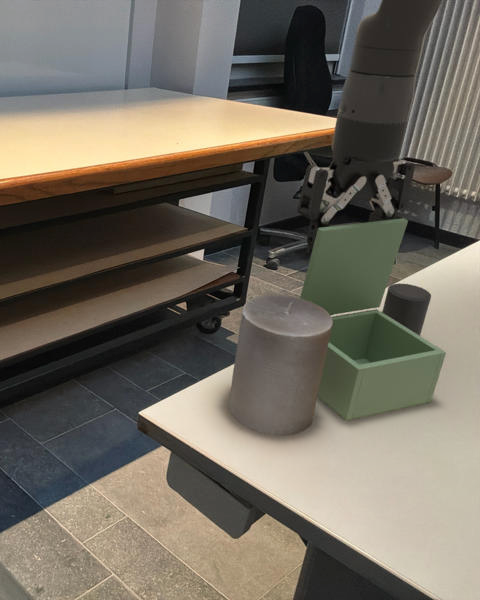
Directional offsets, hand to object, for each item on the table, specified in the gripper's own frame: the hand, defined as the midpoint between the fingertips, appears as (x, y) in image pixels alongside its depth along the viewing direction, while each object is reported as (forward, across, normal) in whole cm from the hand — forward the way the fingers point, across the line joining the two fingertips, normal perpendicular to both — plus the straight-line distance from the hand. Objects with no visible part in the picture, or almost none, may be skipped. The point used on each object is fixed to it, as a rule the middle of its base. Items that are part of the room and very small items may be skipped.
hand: (344, 246), depth 84 cm
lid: (+2, 0, -2) cm, 3 cm away
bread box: (+17, 0, -7) cm, 18 cm away
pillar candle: (+17, -14, -8) cm, 23 cm away
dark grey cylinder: (+17, +13, 0) cm, 21 cm away
